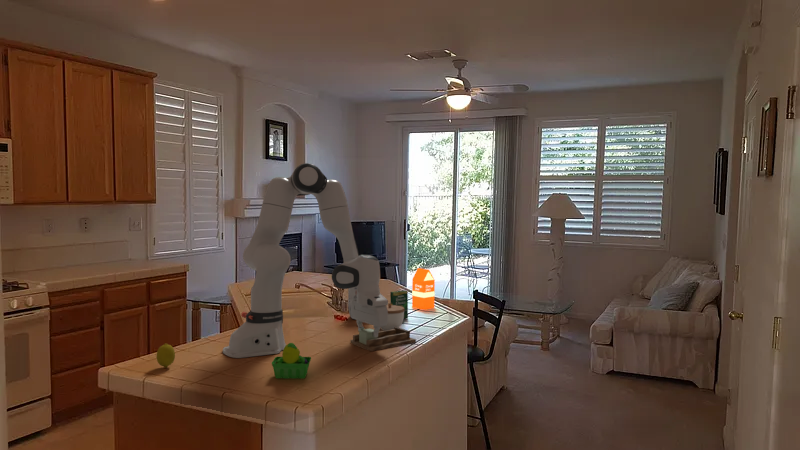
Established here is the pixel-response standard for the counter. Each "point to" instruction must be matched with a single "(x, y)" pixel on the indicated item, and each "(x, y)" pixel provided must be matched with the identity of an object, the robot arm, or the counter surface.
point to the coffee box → (400, 300)
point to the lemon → (165, 355)
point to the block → (366, 335)
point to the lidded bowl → (394, 316)
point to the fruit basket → (291, 363)
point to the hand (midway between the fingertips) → (368, 334)
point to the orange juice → (423, 289)
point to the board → (385, 339)
